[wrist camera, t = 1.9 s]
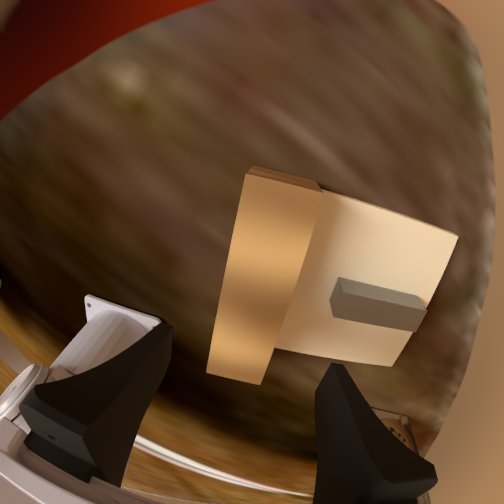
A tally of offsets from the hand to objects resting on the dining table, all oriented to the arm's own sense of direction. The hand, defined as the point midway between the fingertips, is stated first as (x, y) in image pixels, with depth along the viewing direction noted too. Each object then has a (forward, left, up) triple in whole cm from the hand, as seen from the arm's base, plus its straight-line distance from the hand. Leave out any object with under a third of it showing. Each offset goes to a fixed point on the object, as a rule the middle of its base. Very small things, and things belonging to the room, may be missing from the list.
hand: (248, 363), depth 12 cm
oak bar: (0, 0, -9) cm, 9 cm away
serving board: (0, -6, -10) cm, 11 cm away
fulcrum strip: (0, -9, -10) cm, 13 cm away
